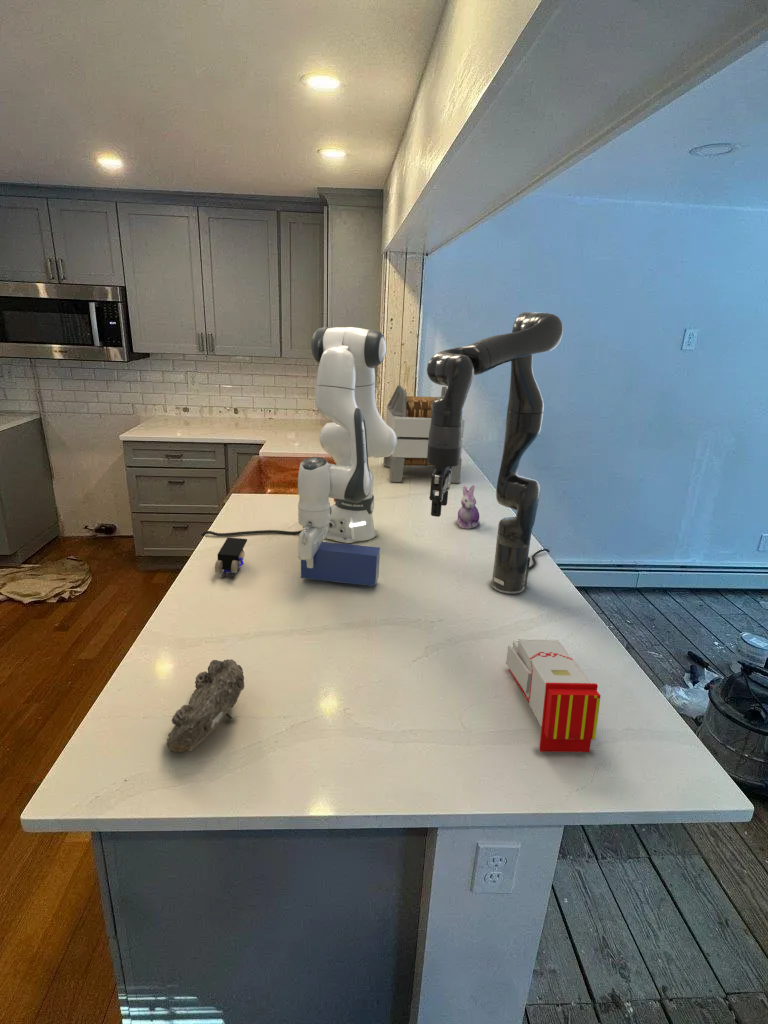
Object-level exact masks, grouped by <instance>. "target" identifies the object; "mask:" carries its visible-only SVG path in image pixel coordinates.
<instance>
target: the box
mask: <svg viewBox="0 0 768 1024" xmlns="http://www.w3.org/2000/svg"><path fill="white" fill-rule="evenodd" d="M380 554H381V547H379V546H371V545H360V544H352V543H343V542H331V541H323V542H322V543H321V545H320V546H319V548H318V550H317V552H316V553H315V555H314V557H313V560H314V567H313V568H307V562H306V560H300V578H301V579H307V580H316V581H325V582H332V583H333V582H334V583H344V584H352V585H359V586H360V585H361V586H368V587H369V586H370V587H376V586H377V583H378V579H379V575H380V557H381V555H380Z"/></svg>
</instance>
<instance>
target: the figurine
mask: <svg viewBox="0 0 768 1024" xmlns="http://www.w3.org/2000/svg"><path fill="white" fill-rule="evenodd" d="M474 492H475V485H474V484H472V485H471V486H470V487H469V489H468V488H467V487H466V485H463V486H462V497H461V500H460V503H461V508H459V509H458V510H457V511H458V512H457V520H456V524H457V526H459V528H460V529H467V530H468V529H473V528H476V527H477V526H478V525H479V522H480V512H479V509H478V507H477V506H476V505H477V500H476V497H475V495H474Z"/></svg>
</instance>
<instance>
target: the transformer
mask: <svg viewBox="0 0 768 1024" xmlns="http://www.w3.org/2000/svg"><path fill="white" fill-rule="evenodd" d="M447 389H448V386H442V387H441V392H440V393H441V394H440V397H442V396H445V394H446V392H447ZM407 394H408V393H407V390H406V389H404V388H403V387H402V385H399V384H398V385H397V386H396V388H395V390H394V392H393V394H392V395H391V398H390V400H389V402H388V404H387V405H386V413H385V414H386V415H385V423H386V424H387V425H388V426H389V427H391V428H392V429H393V430H394V432H395V434H396V437H397V446H396V449H395V451H394V452H393V453H392V454H391V455H390V456H389V457H383V466H384V467H388V468H389V475H388V476H389V477H388V478H389V480H390V482H391V483H402V482H403V475H404V469H405V466H406V467H407V466H411V467H412V466H413V467H415V466H416V467H417V466H418V467H435V466H434V465H430V464H429V463H428V462H427V452H428V438H429V430H430V424H431V412H432V403H433V400H434V399H435V398H437V397H438V396H415V395H414V396H413V395H412V396H411V395H407ZM464 429H465V419H464V418H462V439H463V438H464V431H465V430H464ZM463 442H464V441H463V440H461V451H460V462H459V464H458V465H457V466H455V467H452V475H451V484H455V483H456V484H459V483H461V472H462V461H463V460H462V453H463Z"/></svg>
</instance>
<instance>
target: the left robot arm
mask: <svg viewBox="0 0 768 1024" xmlns="http://www.w3.org/2000/svg"><path fill="white" fill-rule="evenodd" d="M310 343H311V344H310V349H311V355H312V356H313V359H314V360H315V361H316V362H317V363H318V368H317V373H316V379H315V387H314V403H315V407H316V408H317V410H318V412H319V413H320V414H321V416H323V417H324V418H326V419H327V420H329V421H330V422H326V423H325V424H324V425H323V427H321V430H320V432H319V444H320V446H321V448H322V449H323V451H324V452H326V453H327V454H328V455H329V456H330V457H331V458H332V460H333V461H334V463H329V461H328V460H327V459H326V458H324V457H321V456H311V457H306V458H304V459H303V460H302V461H301V462H300V464H299V466H298V467H299V468H298V475H297V494H298V503H297V523H298V525H300V526H302V529H300V530H295V531H292V530H291V531H288V530H279V529H278V530H277V529H276V530H275V529H264V530H263V529H262V530H260V529H259V530H246V531H234V532H215V531H212V530H205V531H204V532H202V533H201V534H200V536H201V537H205V536H206V535H213V536H216V537H230V536H241V535H256V534H281V535H282V534H284V535H299V536H298V548H297V557H298V559H299V560H300V561H301V560H306V562H307V568H313V567H314V560H313V557H314V555H315V553H316V552H317V550H318V548H319V546H320V545H321V543H322V542H325V539H326V540H330V541H336V542H338V543H342V544H352V543H357V542H365V541H368V540H372V539H373V538H375V537H376V535H377V532H376V528H375V523H374V513H373V512H374V509H375V496H374V474H373V472H372V471H371V469H370V466H369V458H372V459H379V458H384V457H389V456H390V455H391V454H392V453H393V452H394V451H395V449H396V446H397V437H396V434H395V432H394V430H393V429H392V428H391V427H389V426H388V425H387V423H386V421H385V420H384V419H383V418H382V416H381V414H380V412H379V410H378V406H377V399H376V370H375V369H376V367H379V366H380V365H381V364H382V363H383V361H384V359H385V356H386V354H387V343H386V337H385V336H384V334H383V333H382V332H381V331H379V330H377V329H374V328H373V329H372V328H370V329H366V328H363V327H356V326H348V327H346V326H344V327H343V326H339V327H338V326H336V327H330V326H324V327H323V326H322V327H319V328H317V329H316V330H315V331H314V333H313V335H312V338H311V342H310ZM330 499H333V502H334V504H333V505H331V504H330Z"/></svg>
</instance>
